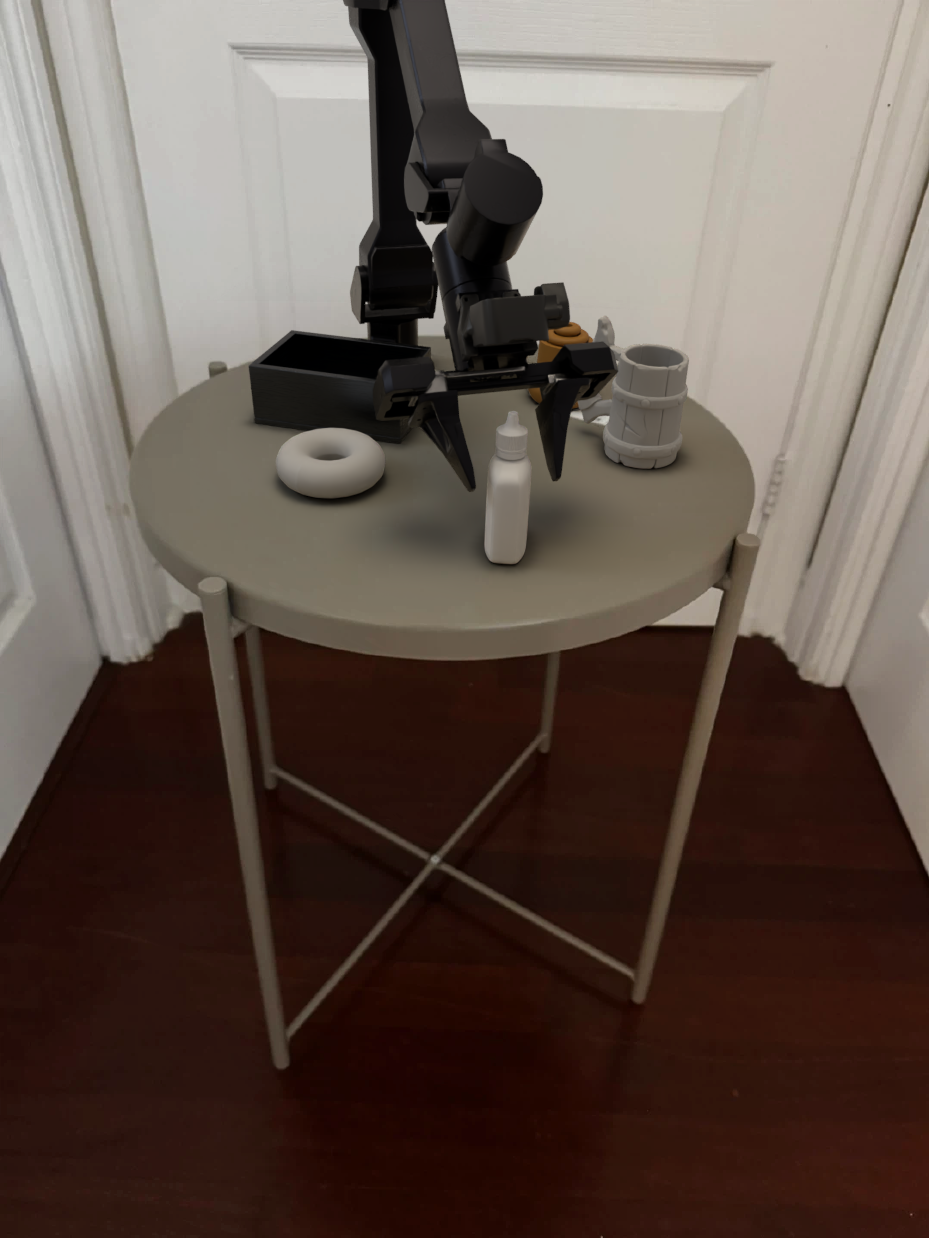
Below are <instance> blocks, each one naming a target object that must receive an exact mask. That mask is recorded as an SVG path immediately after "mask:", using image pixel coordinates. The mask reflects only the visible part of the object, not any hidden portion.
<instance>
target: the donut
mask: <svg viewBox="0 0 929 1238" xmlns="http://www.w3.org/2000/svg"><path fill="white" fill-rule="evenodd" d="M274 463H275V469H276V472H277V476H278V478H279V479H280V480H281V482H283V484H284V485H286V487H287V488H289V489H290V490H292V491H294V492H296V493H298V494H300V495H303V496H308V497H312V498H316V499H339V498H348V497H351V496H354V495H358V494H361V493H363V492H365V491H367V490H369V489H371V488H372V487H373V486H375V485H376V483H378V481H380V480H381V478H382V476H383V475H384V472H385V468H386V463H387V459H386V455H385V453H384V450H383V448H382V446H381V444H380V443H378V442H377V440H373V439H372V438H371V437H370V436H368V435H366V434H363V433H361V432H358V431H354V430H349V429H344V428H322V429H315V430H311V431H308V430H306V431H303V432H301V433H298V434H296V435H294V436H291V437H290V438H289V439H288V440H287V441H285V442H284V443H283V444H282V445H281V446H280V449H279V450H278V452H277V455H276V456H275V462H274Z"/></svg>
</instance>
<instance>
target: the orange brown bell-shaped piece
mask: <svg viewBox="0 0 929 1238" xmlns="http://www.w3.org/2000/svg"><path fill="white" fill-rule="evenodd" d="M548 332H549V340H548V341H538V342H539V343H538V350H537V358H536V363H541V362H552V360H553V359H554V358H555V356H556V355H557V353H558V352H559V351H560V349H561V348H562V347H563V345H567V344H579V343H590V342H593V339H594V338H592V337H591V336H590V335H589V333H588V332H587V331H586V330H585V329H584V328H582V327H581V325H580V324H579V323H576V322H574V321H573V322H572V321H570V322H569V325H568V326H567V327H564V328H560V329H553V330H548ZM527 390H528V393H529V396H530V397H531V398H532V399H533V400H534V401H535V402H536V403H537V404H538V405H539V404H540V402H541V401H542V398H541V393H540V388H532V389H527ZM573 409H579V406H578V401H577V402H576V403H575V405H574V406H573V407H572V410H573Z"/></svg>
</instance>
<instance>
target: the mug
mask: <svg viewBox="0 0 929 1238" xmlns="http://www.w3.org/2000/svg"><path fill="white" fill-rule="evenodd" d="M615 336H616V335H615V330H614V327H613V323H612V321H611V319H610V318H609V317H608V316H607V315H603V316H601V317H599V318H598V320H597V328H596V332H595V335H594V338H592V339H593V342H602V341H603V342H604V343H606V344H607V345H608V346H609V347H610V348H611V349H612V350H613V352H614V354H615V358H616V362H618V364H617V368H618V373H617V374H616V375H615V376H614V377H613V379H612V383H611V394H612V398H610V399H609V398H608V399H603V397H602V395H601V394H600V392H599V393H598V394H597V395H596V396H595V397H593V398H590V399H588V400H580V401H578V406H579V408H578V410H580V411H581V415H582V421H583V422H584V423H586V424H591V423H593V422H594V421H595V420H597V419H598V418H599V417H608V422H607V423H606V424H605V426H604V428H603V431H602V441H603V443H604V447H603V450H604V453H605V455H606V456H607V457H608V458H609V459H610V460H611V461H613V462H615V463H617V464H618V463H622V464H623V465H624V466H625V467H630V468H634V469H644V470H647V469H652V468H654V469H660V468H665V467H666V466H669V465H671V464H672V463H673V462H674V461H675V460H676V458H677V453H678V452H679V450H680V449H681V447H682V444H683V434H682V432H681V426H682V425H681V424H682V417H683V416H682V415H683V411H684V410H683V409H684V403H685V402H686V400H687V397H688V391H689V387H688V385H687V378H688V372H689V371H688V370H689V363H690V358H689V357H688V355H687V354H686V353H685V352H684V351H682V350H680V349H679V348H673V347H672V346H668V345H663V344H657V343H656V344H655V343H642V344H640V343H636V344H632V345H629V346H626V347H621V346H618V345H615V341H616V339H615V338H616V337H615Z"/></svg>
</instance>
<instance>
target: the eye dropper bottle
mask: <svg viewBox="0 0 929 1238" xmlns="http://www.w3.org/2000/svg"><path fill="white" fill-rule="evenodd" d="M528 438H529V429H528V428H527V427H526V426H525V425H522V424H520V419H519V412H518V411H517V410H509V411H508V413H507V416H506V421H505V423H502V424H500V425H499V426H497V427H496V428H495V445H494V447H495V448H494V449H495V450H494V453H493V454H492V456H491V457H490V459H489V461H488V466H487V480H486V499H485V521H484V522H485V523H484V525H485V526H484V552H485V555H486V557H487V559H488V560H489V561H490V562H492V563H494V564H502V565H515V564H517V563H519V562H520V561H521V560H522V559H523V556H524V554H525V552H526V549H527V538H528V527H529V526H528V525H529V512H530V500H531V484H532V483H531V482H532V471H533V469H532V462H531V459H530V457H529V456H528V454H527V450H528Z"/></svg>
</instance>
